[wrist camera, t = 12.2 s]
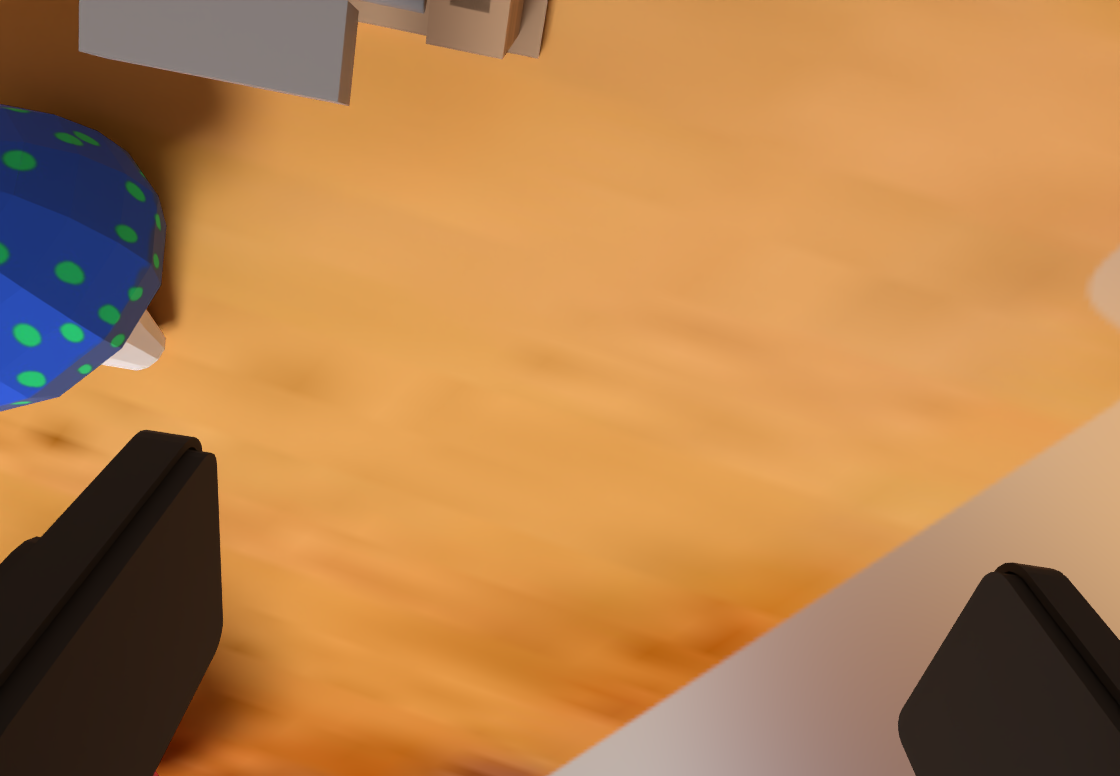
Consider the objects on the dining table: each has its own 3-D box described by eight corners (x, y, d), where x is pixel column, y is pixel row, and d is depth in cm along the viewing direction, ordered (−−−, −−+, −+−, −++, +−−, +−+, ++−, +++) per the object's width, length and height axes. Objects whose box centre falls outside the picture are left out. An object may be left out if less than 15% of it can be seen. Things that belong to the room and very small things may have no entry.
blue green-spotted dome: (40, 524, 37) (-352, 414, 24) (18, 308, 43) (-301, 125, 30) (294, 397, 37) (44, 215, 24) (235, 199, 43) (12, -34, 30)
